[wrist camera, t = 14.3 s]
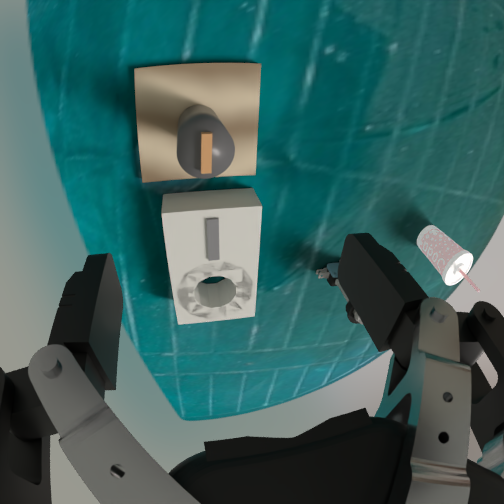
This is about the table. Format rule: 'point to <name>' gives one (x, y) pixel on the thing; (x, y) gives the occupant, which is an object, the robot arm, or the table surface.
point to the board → (188, 94)
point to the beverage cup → (445, 255)
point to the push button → (332, 279)
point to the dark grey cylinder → (203, 143)
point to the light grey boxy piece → (212, 252)
